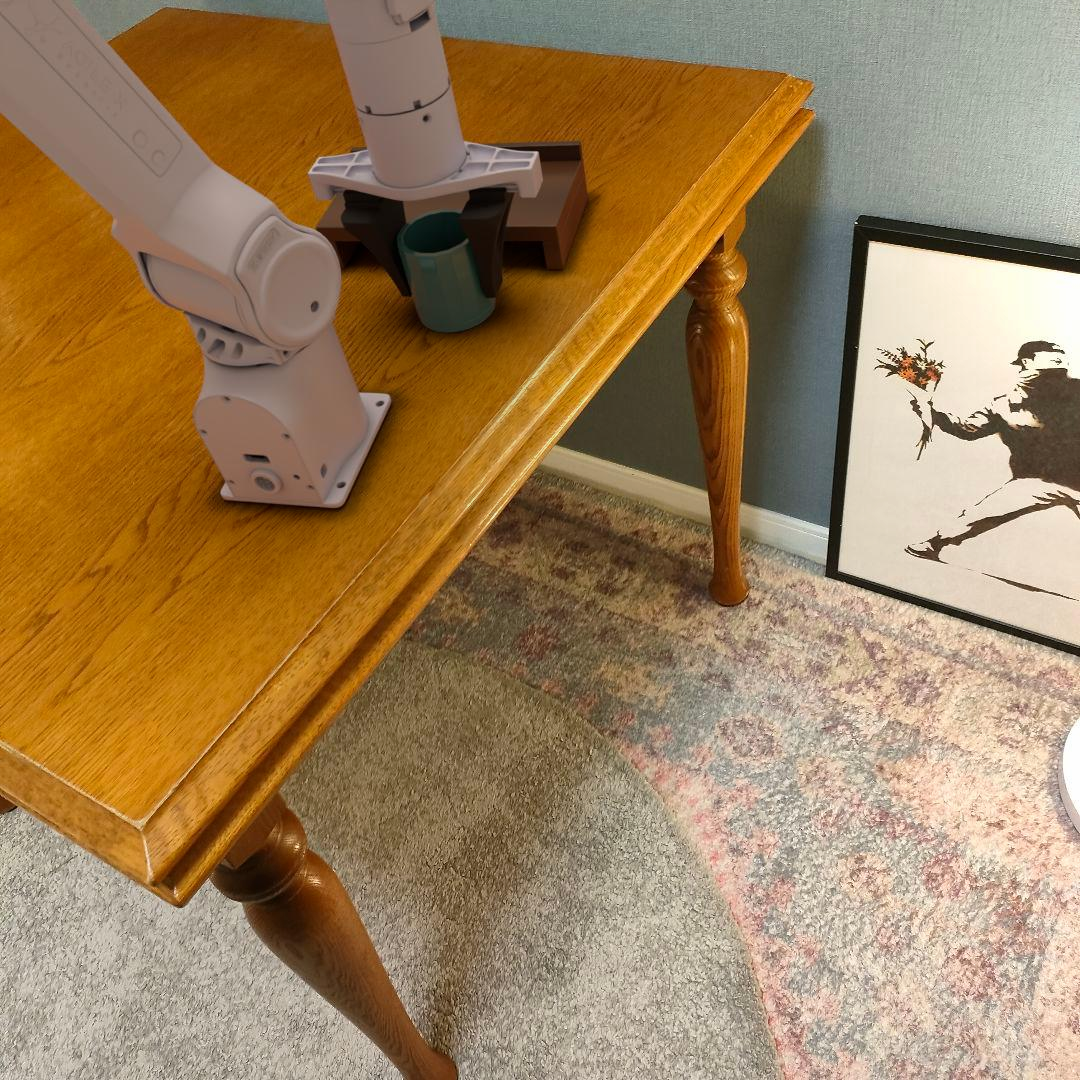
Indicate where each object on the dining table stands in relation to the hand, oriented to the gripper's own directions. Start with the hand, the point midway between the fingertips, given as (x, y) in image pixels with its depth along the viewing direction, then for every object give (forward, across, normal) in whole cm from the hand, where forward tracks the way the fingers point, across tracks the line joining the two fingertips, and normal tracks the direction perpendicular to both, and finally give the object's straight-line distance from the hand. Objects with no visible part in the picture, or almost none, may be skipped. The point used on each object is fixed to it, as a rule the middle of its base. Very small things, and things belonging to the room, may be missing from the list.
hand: (452, 288), depth 68 cm
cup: (+2, 0, 0) cm, 2 cm away
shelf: (+2, +2, -9) cm, 9 cm away
